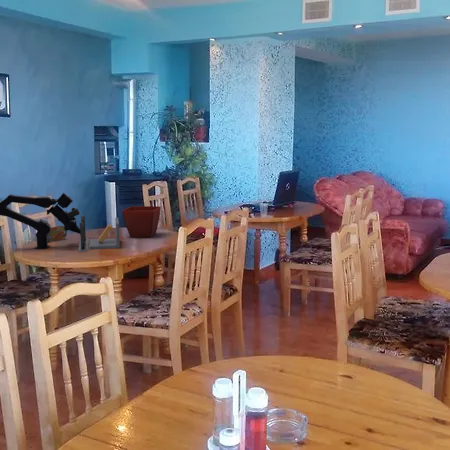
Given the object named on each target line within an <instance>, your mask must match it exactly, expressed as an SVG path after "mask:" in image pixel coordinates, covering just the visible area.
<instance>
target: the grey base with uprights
mask: <svg viewBox="0 0 450 450" xmlns="http://www.w3.org/2000/svg"><path fill="white" fill-rule="evenodd" d="M114 220H115V221H114V222H115V238H105V240H104V241H103V243H102V242H101V243H99V238H95V239H94V238H93V239H89V250H105V249H106V250H107V249H120V248H121V244H120V221H119V217H115V218H114Z"/></svg>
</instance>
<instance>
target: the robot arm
mask: <svg viewBox="0 0 450 450" xmlns="http://www.w3.org/2000/svg"><path fill="white" fill-rule="evenodd" d="M73 202H74V200H73V199H72V198H71V196H69V195H67V194H66V193H65V192H63V193H61V195H60V196H59V197H58V199H56V198H52V197H50V196H38V197H36V196H35V197H34V196H26V195H25V196H24V195H23V196H22V195H15V194H9V195H8V196H6V197H5V198H4V199H3V200H2V201H1V202H0V216H1V217H7V218H10V219H13V220H15V221H17V222H19V223H21V224H24V225H27V226H28V227H31V228H33V229H34V230H35V231H36V233H35V237H36V246H35V247H34V249H48V248H49V247H51V245H50V244H48V243H49V242H48V240H47V236H46V235H47V234H48V233H49V232H50V230H51V227H52V225H51V224H50V223H49V221H45V220H44V219H42V218H40V219H39V220H36V219H33V218H31V217H29V216H27V215H24V214H21V213H20V212H17V211H15V210H13V209H11V208H10V207H8V206H9V205H10V204H11V203H15V204H17V203H18V204H26V205H34V206H37V207H41V208H44V209H46V216H48V215H50V214H51V215H52V216H54V217H55V218H56V219H57V221H58V222H60V223H61V224H63V226H64V229H65V230H66V231H67V232H68V231H70V232H73V233H76V234H79V235H80V226H78V224H77V217H76V216H79V215H81V213H80V211H79V208H75V207H73V208H71V211H65V210H64V209H67V208H68V207H69V206H70V205H71V204H72V203H73Z"/></svg>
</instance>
